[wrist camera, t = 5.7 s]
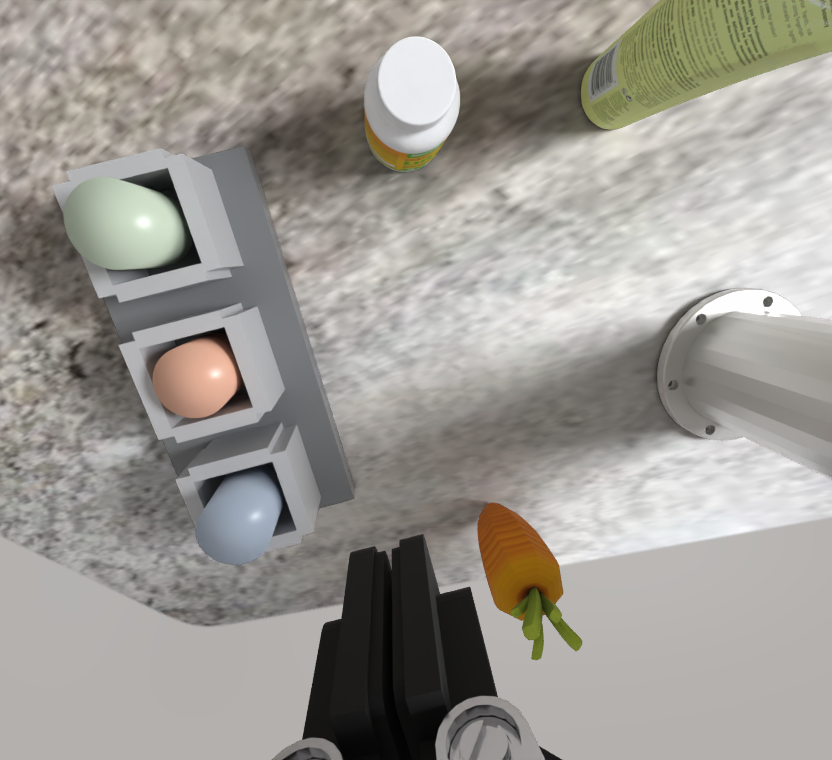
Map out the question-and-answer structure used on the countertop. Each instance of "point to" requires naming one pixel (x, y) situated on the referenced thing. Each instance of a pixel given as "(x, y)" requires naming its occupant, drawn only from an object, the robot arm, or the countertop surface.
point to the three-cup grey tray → (246, 329)
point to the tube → (699, 53)
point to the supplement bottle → (410, 103)
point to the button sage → (126, 225)
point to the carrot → (522, 574)
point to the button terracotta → (198, 376)
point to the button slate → (241, 516)
